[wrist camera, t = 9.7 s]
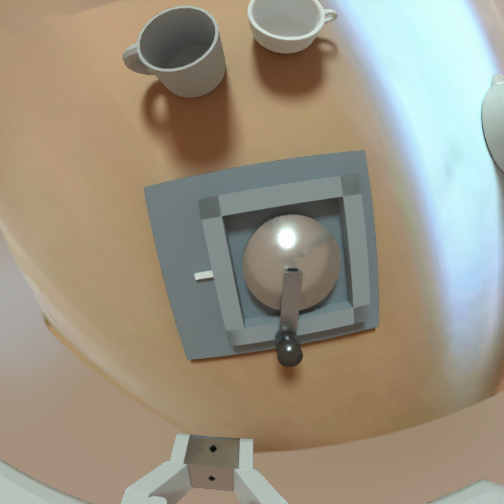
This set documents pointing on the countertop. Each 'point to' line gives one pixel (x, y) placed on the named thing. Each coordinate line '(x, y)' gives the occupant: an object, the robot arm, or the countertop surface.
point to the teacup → (287, 23)
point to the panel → (235, 238)
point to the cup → (180, 51)
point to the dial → (290, 272)
